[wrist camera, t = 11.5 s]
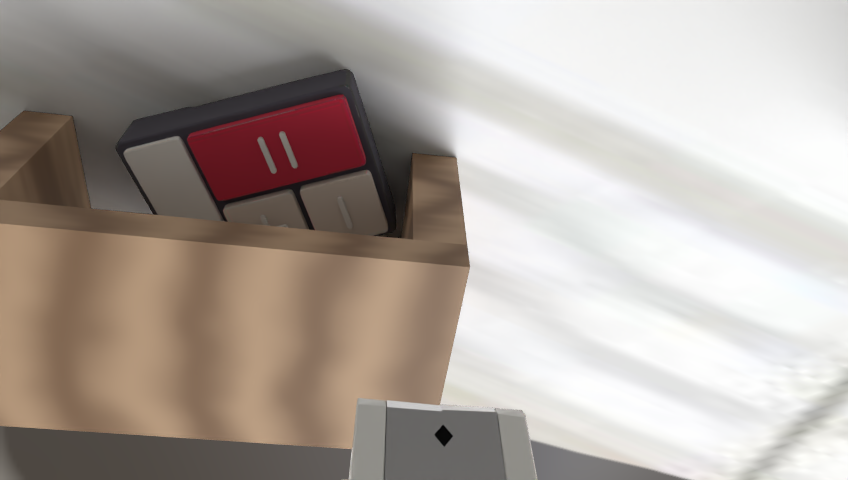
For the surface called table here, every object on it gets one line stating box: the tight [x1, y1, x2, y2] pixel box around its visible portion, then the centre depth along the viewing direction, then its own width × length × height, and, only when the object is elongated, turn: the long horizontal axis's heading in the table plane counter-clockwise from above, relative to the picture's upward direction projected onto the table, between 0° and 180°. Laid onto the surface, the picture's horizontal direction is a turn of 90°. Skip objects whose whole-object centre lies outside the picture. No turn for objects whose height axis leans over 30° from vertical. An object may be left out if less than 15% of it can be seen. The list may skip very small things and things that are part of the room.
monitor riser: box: [0, 111, 470, 449], centre depth 42 cm, size 28×16×12 cm, turn 83°
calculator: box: [116, 69, 396, 236], centre depth 43 cm, size 11×4×15 cm
